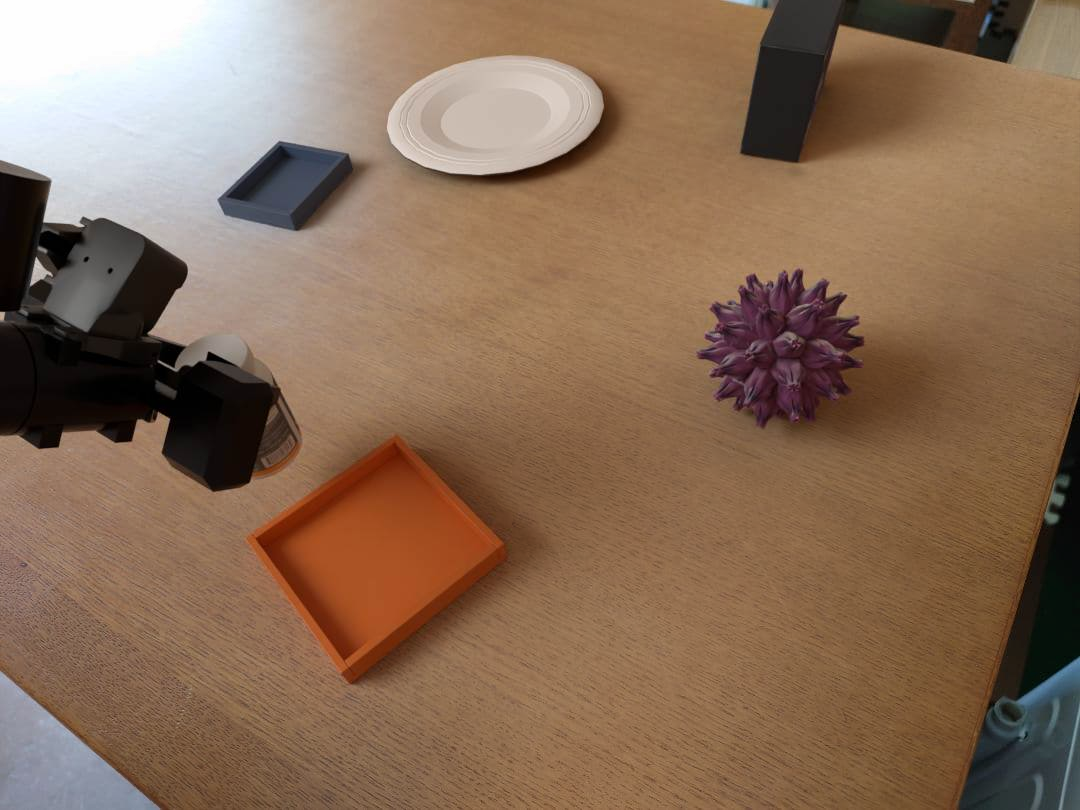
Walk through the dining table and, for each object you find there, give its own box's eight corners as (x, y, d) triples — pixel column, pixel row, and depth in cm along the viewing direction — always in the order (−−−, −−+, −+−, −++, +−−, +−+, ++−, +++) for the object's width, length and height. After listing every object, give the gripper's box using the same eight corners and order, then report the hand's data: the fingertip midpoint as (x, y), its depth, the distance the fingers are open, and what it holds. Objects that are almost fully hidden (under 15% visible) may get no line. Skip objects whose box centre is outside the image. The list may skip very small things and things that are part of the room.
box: (802, 165, 80) (826, 52, 71) (738, 156, 82) (752, 44, 73) (829, 82, 90) (852, -28, 80) (770, 75, 92) (787, -33, 82)
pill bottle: (228, 429, 58) (169, 336, 50) (304, 413, 58) (257, 318, 51) (224, 491, 54) (159, 400, 47) (305, 473, 55) (255, 380, 47)
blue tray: (296, 231, 80) (289, 215, 79) (224, 215, 83) (216, 199, 82) (353, 169, 87) (348, 153, 85) (285, 155, 90) (279, 140, 88)
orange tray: (349, 685, 50) (340, 673, 48) (254, 551, 57) (244, 538, 55) (507, 557, 55) (504, 543, 53) (402, 448, 61) (396, 433, 60)
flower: (699, 457, 60) (686, 328, 66) (860, 450, 59) (833, 318, 64) (708, 388, 50) (692, 241, 55) (903, 376, 49) (867, 227, 54)
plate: (351, 171, 86) (346, 156, 85) (444, 60, 101) (441, 46, 99) (563, 203, 80) (562, 187, 78) (630, 79, 94) (630, 64, 92)
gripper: (163, 278, 33) (387, 309, 47) (-72, 168, 40) (183, 223, 54) (105, 515, 35) (337, 476, 49) (-108, 370, 42) (147, 372, 56)
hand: (246, 378), depth 52 cm, fingers closed on pill bottle, 5 cm apart
